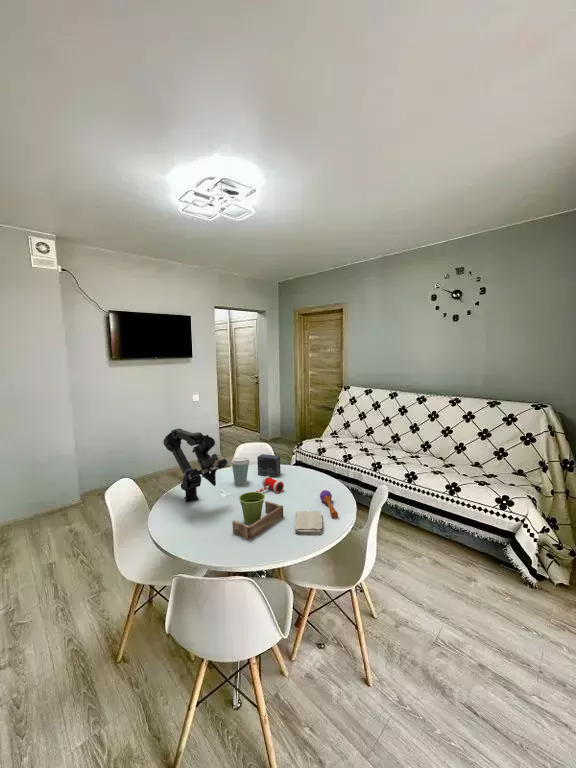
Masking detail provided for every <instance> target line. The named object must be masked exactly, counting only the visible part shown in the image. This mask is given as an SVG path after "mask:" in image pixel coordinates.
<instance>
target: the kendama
mask: <svg viewBox="0 0 576 768" xmlns="http://www.w3.org/2000/svg"><path fill="white" fill-rule="evenodd" d="M332 497H333V495H332V493H331V491H329V490H327V489H324V490H322V491H321V492H320V494H319V498H320V500H321V502H322V503H324V504H326V505H328V509H329V513H330V516H331V518H332V519H337V518H338V517H339V512H337V510H336V509H335V507H334V506H333V505H332V503H331V502H332Z"/></svg>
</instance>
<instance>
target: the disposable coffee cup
mask: <svg viewBox="0 0 576 768" xmlns="http://www.w3.org/2000/svg"><path fill="white" fill-rule="evenodd" d="M249 465H250V459H249V458H248V457H245V456H244V457H243V456H241V457H234V458H232V460H231V467H232V472H233V473H232V474H233V479H234V483H235V485H236V486H244V485H245V484H246V483H247V480H248V474H249V473H248V472H249Z"/></svg>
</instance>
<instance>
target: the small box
mask: <svg viewBox="0 0 576 768" xmlns="http://www.w3.org/2000/svg"><path fill="white" fill-rule="evenodd" d="M256 460H257V476H258V475H259V476H260V477H266V476H269V477H271V478H276V477H277V478H278V477H279V476H281V455H275V454H274V455H273V454H264V453H261V454H260V455H258V456H257V459H256Z"/></svg>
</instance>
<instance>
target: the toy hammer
mask: <svg viewBox="0 0 576 768" xmlns="http://www.w3.org/2000/svg"><path fill="white" fill-rule="evenodd" d="M284 487H285V485H284V481H281V480H276V479H274V478H273V477H269V476H264V477H263V479H262V488H260V489H259V490H257V491H255V492H260V493H262V492H264V491H265V490H267V489H270V490H272V491H274V492H275V493H276V494H279V493H281V492H283V490H284ZM278 492H279V493H278Z"/></svg>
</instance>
